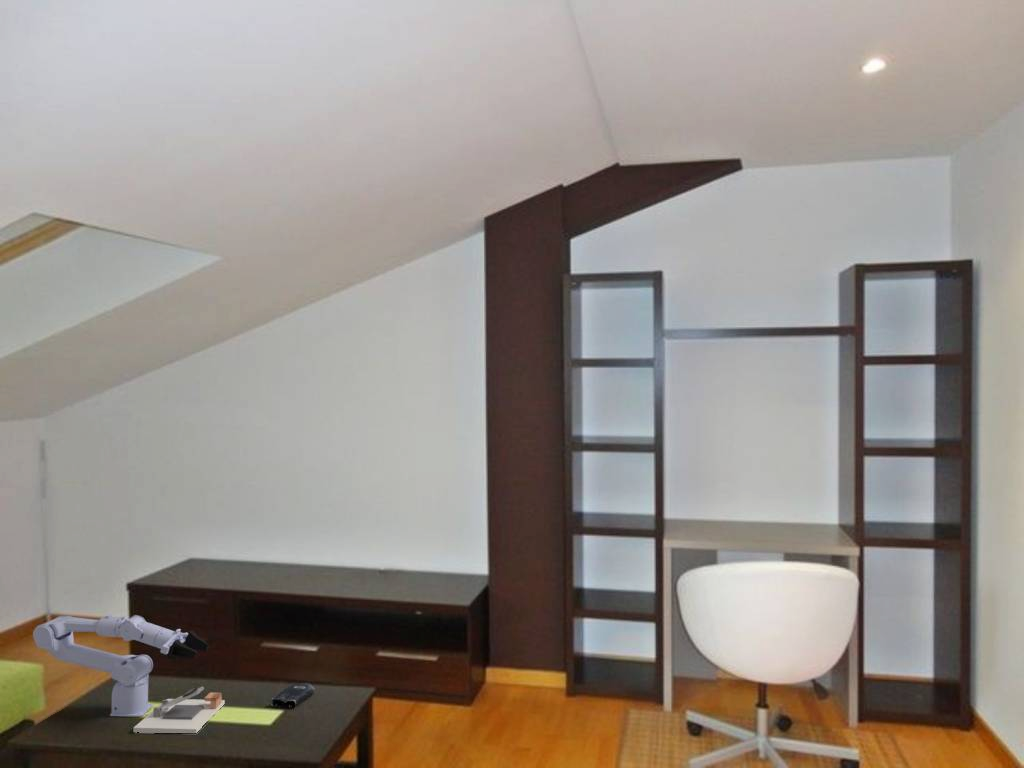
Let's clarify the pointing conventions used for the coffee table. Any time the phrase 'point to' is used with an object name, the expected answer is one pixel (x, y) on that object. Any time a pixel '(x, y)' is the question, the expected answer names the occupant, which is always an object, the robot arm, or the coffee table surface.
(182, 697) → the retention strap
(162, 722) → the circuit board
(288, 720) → the coffee table surface
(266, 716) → the coffee table surface
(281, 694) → the electronic device
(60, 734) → the coffee table surface
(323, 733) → the coffee table surface
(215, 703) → the block
